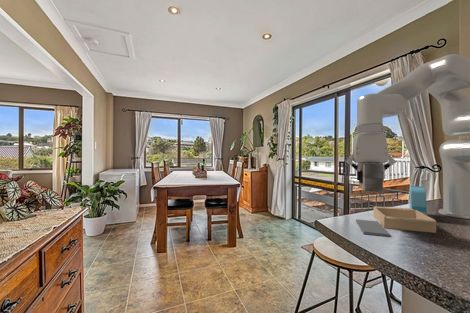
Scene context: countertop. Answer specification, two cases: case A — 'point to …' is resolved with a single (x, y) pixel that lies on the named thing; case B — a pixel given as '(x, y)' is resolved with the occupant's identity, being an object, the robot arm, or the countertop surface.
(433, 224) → the carton
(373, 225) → the mat
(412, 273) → the countertop surface
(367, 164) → the walnut box
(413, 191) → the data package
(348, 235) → the countertop surface
